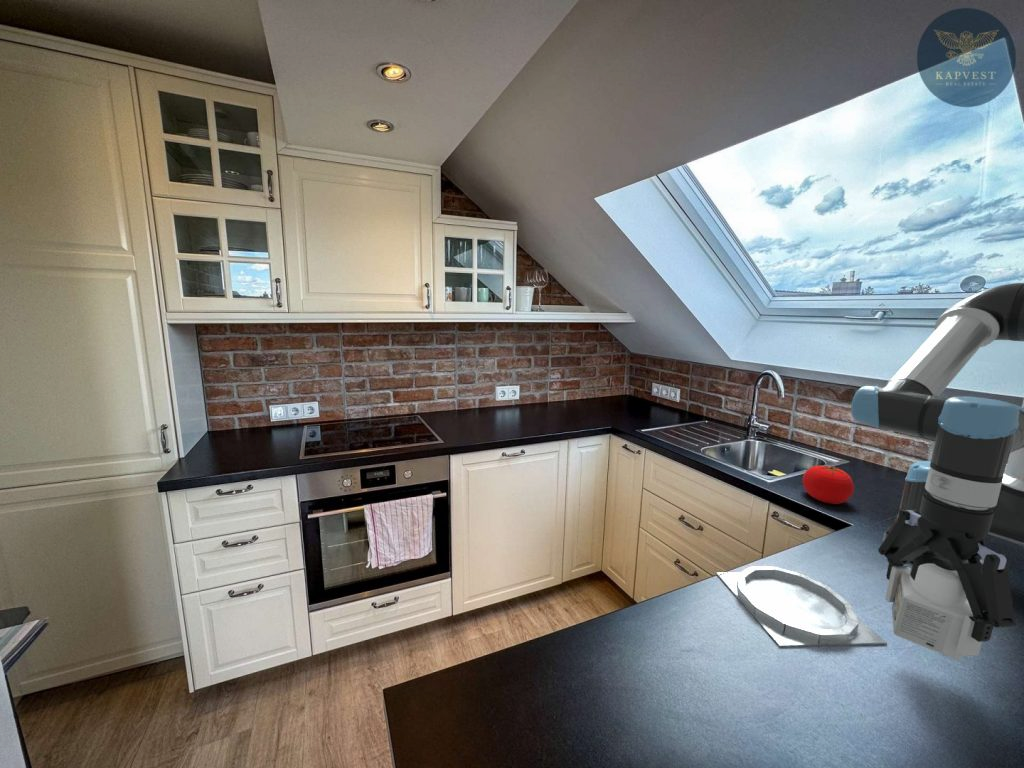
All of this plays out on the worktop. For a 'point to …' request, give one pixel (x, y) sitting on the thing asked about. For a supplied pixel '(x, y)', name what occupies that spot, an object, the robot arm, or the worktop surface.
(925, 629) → the container
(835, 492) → the tomato
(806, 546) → the worktop surface
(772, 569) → the duct collar
